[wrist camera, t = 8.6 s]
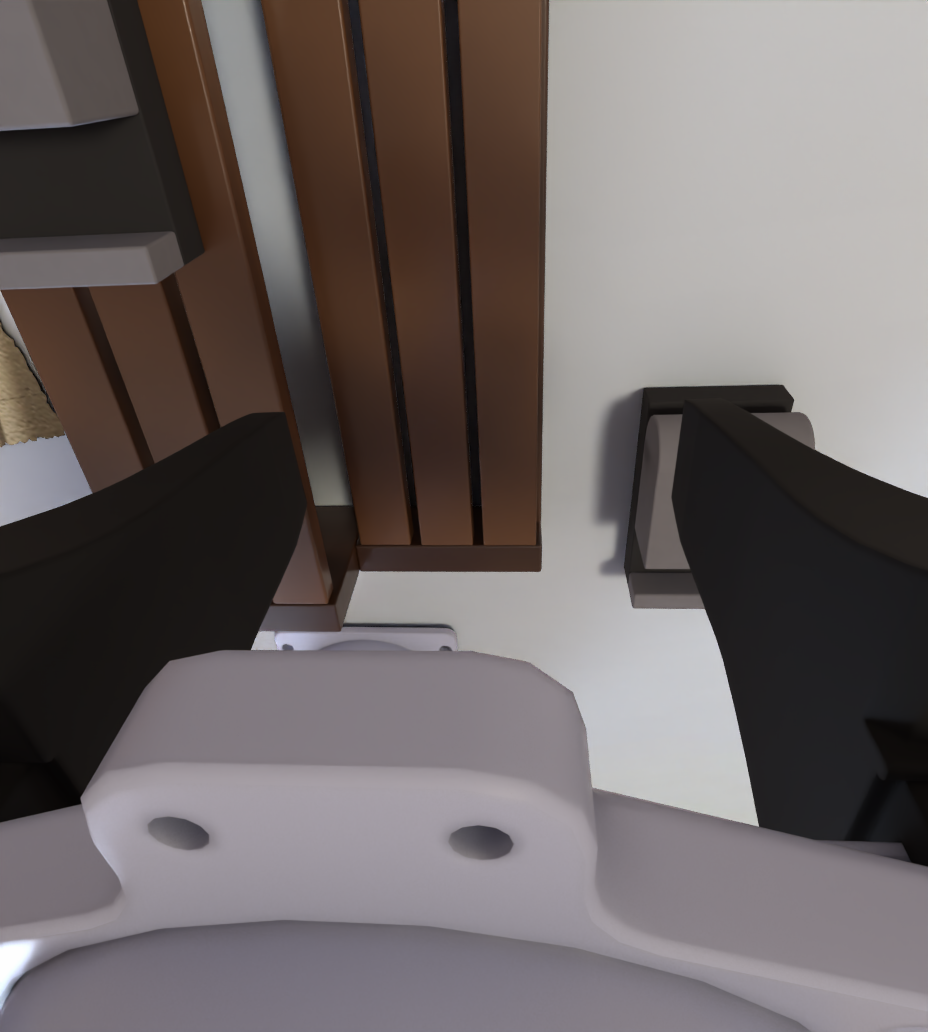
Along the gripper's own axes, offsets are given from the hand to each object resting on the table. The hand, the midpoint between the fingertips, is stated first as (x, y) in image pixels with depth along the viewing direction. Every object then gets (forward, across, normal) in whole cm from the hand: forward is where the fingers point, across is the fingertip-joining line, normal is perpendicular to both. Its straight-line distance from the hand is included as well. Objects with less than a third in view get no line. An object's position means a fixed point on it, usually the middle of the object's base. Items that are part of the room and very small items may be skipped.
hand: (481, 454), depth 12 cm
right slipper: (+10, -7, +7) cm, 14 cm away
